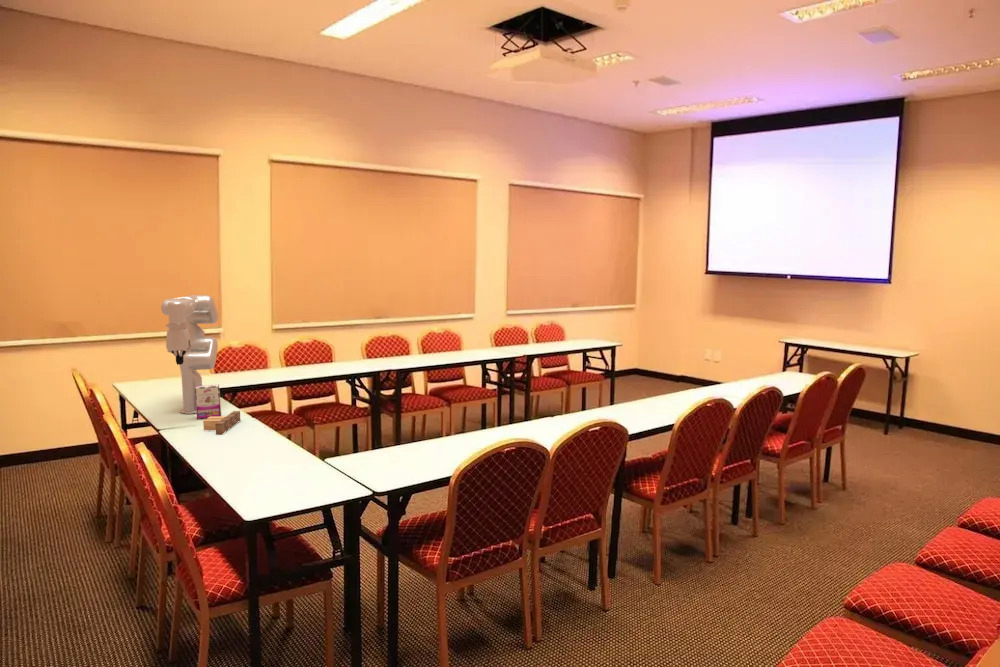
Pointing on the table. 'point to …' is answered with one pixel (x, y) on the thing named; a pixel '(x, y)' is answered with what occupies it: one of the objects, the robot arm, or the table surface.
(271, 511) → the table surface
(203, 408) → the candy bar box
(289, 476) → the table surface
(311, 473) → the table surface
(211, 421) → the block
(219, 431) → the rail
